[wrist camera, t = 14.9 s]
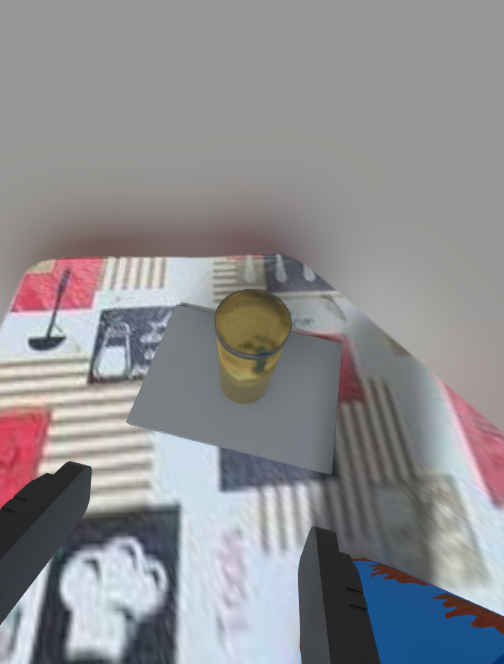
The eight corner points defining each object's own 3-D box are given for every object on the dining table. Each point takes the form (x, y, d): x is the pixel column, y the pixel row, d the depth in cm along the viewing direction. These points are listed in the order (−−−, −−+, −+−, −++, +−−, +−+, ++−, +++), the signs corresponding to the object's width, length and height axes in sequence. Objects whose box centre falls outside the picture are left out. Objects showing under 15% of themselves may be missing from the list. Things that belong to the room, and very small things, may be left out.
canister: (274, 363, 32) (297, 298, 22) (264, 410, 29) (284, 363, 19) (226, 351, 32) (226, 282, 22) (212, 397, 30) (204, 344, 19)
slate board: (339, 347, 35) (342, 343, 34) (328, 474, 28) (332, 474, 27) (177, 309, 36) (176, 304, 35) (129, 424, 29) (126, 422, 28)
